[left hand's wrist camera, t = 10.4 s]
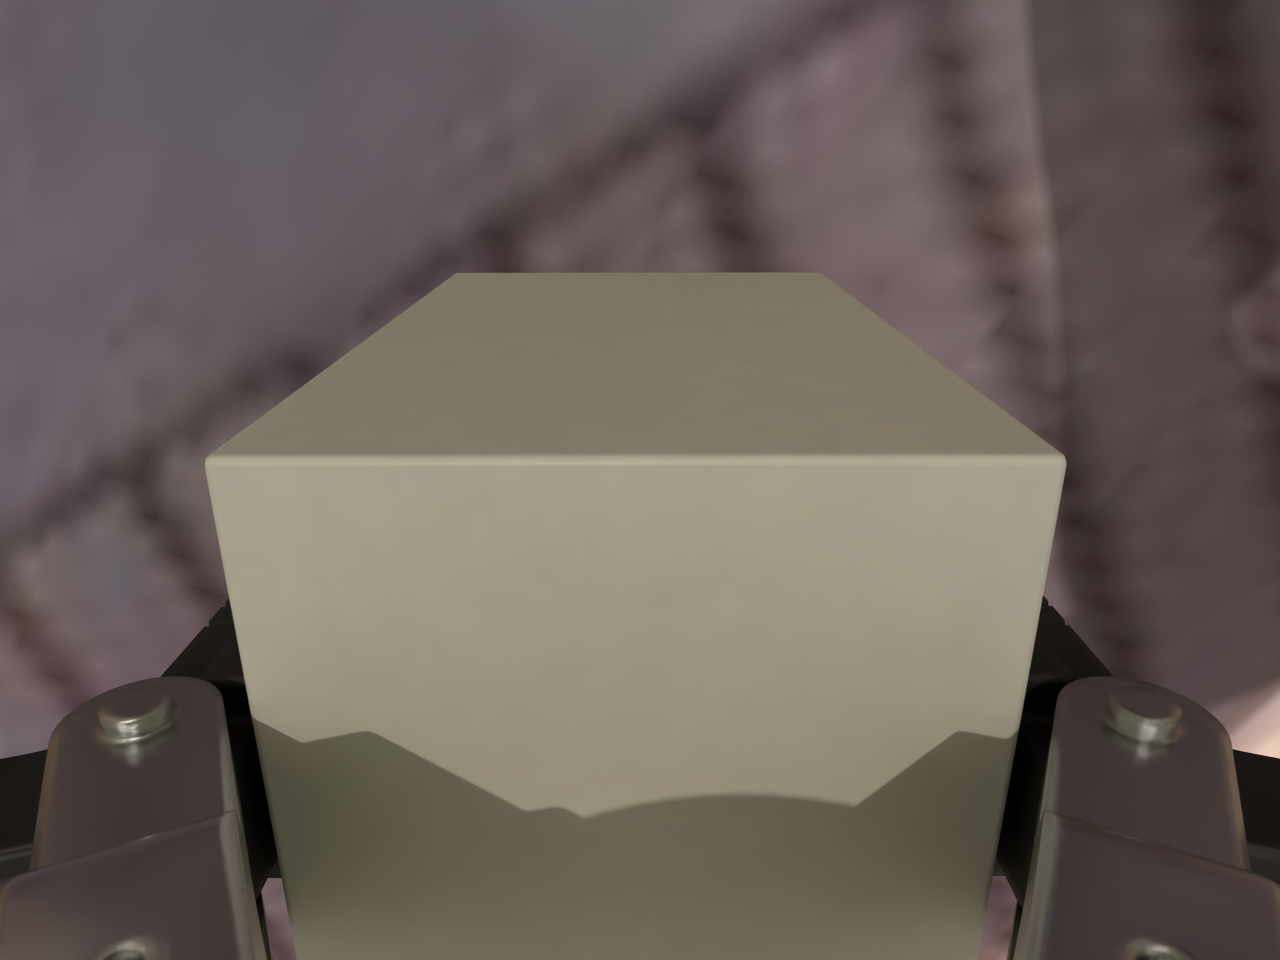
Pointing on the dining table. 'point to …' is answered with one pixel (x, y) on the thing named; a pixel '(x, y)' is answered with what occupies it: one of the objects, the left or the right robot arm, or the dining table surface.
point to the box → (636, 626)
